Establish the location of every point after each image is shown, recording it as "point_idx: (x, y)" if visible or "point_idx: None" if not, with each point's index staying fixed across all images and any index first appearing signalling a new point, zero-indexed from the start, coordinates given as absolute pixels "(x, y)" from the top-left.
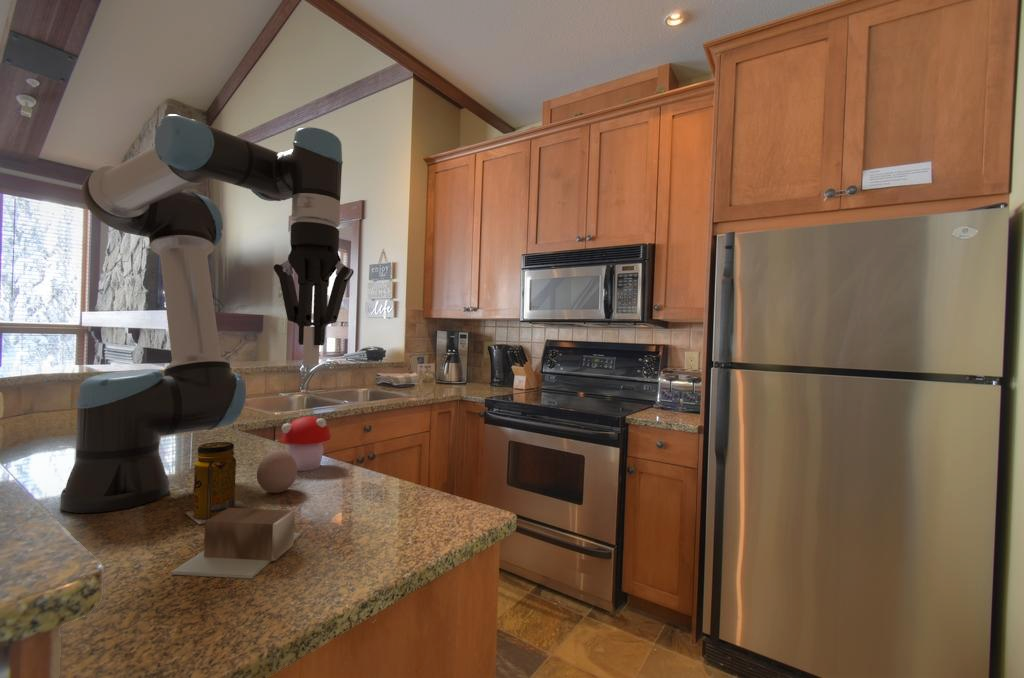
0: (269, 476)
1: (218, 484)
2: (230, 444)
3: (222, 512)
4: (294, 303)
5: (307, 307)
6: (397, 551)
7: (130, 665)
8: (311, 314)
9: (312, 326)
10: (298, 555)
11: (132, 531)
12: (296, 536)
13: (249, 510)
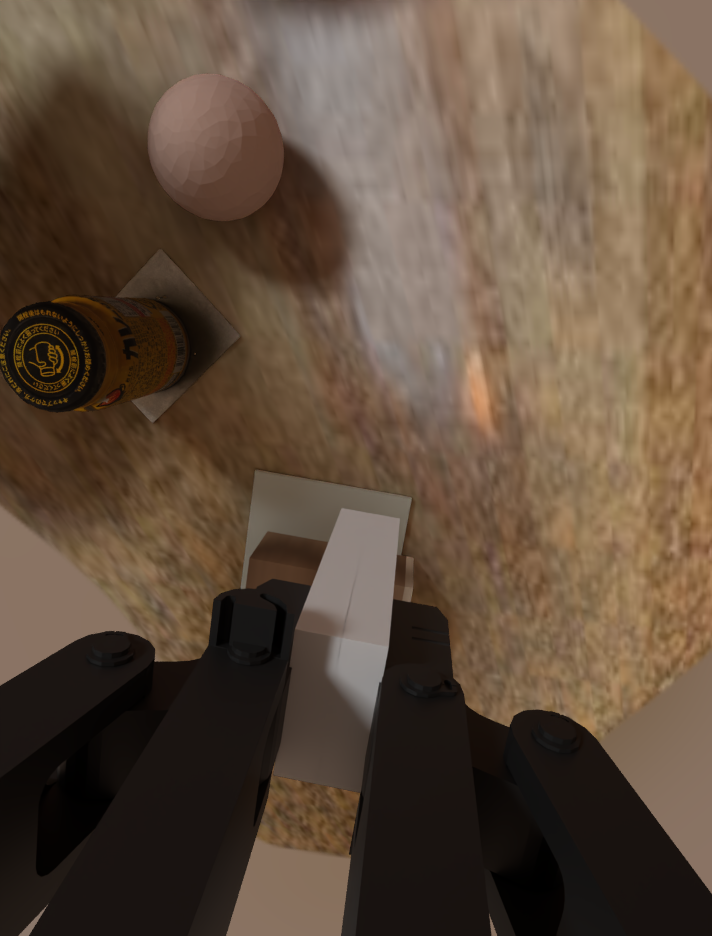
0: (215, 218)
1: (138, 395)
2: (89, 353)
3: (251, 586)
4: (4, 883)
5: (229, 897)
6: (645, 591)
7: (319, 847)
8: (267, 728)
9: (358, 790)
10: (435, 591)
11: (35, 449)
12: (407, 517)
13: (306, 578)
